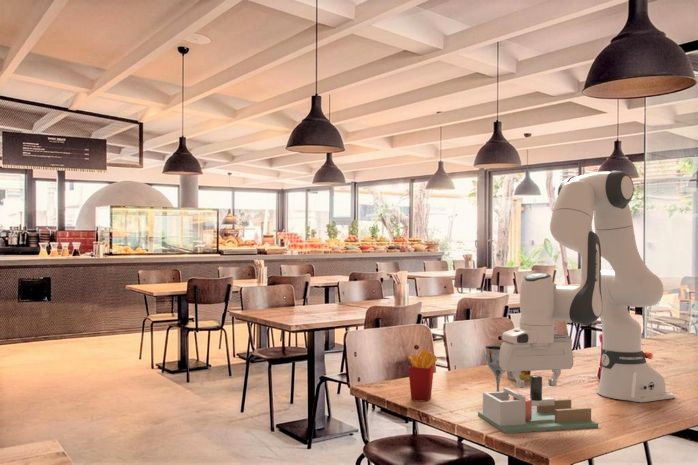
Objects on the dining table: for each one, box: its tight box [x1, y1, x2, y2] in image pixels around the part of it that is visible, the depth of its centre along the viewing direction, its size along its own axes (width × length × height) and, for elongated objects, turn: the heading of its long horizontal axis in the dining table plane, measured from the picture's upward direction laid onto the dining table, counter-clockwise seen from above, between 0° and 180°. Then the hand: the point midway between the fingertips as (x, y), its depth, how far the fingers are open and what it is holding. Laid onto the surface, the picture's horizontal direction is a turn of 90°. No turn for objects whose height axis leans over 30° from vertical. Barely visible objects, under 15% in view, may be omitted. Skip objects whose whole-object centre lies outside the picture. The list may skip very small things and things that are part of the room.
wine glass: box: [484, 344, 511, 399], centre depth 188 cm, size 8×8×15 cm
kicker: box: [512, 375, 556, 421], centre depth 162 cm, size 10×6×10 cm, turn 103°
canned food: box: [506, 371, 531, 382], centre depth 214 cm, size 8×8×12 cm
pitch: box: [477, 387, 599, 434], centre depth 162 cm, size 26×16×8 cm, turn 103°
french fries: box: [407, 348, 438, 402], centre depth 185 cm, size 9×8×15 cm
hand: (536, 386), depth 162 cm, fingers open, 8 cm apart
